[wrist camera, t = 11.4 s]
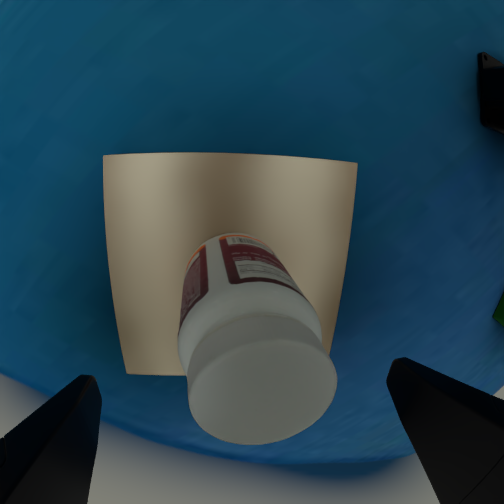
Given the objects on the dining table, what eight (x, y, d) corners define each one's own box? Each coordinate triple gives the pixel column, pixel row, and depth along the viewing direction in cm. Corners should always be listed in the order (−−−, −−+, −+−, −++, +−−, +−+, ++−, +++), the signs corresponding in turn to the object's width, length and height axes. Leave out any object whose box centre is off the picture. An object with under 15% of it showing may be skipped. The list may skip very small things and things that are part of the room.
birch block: (333, 160, 17) (357, 163, 14) (311, 340, 21) (326, 366, 18) (119, 154, 15) (103, 155, 13) (134, 345, 19) (126, 373, 16)
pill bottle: (214, 334, 16) (230, 468, 8) (166, 260, 15) (134, 379, 7) (295, 293, 16) (367, 408, 8) (255, 212, 14) (318, 290, 7)
